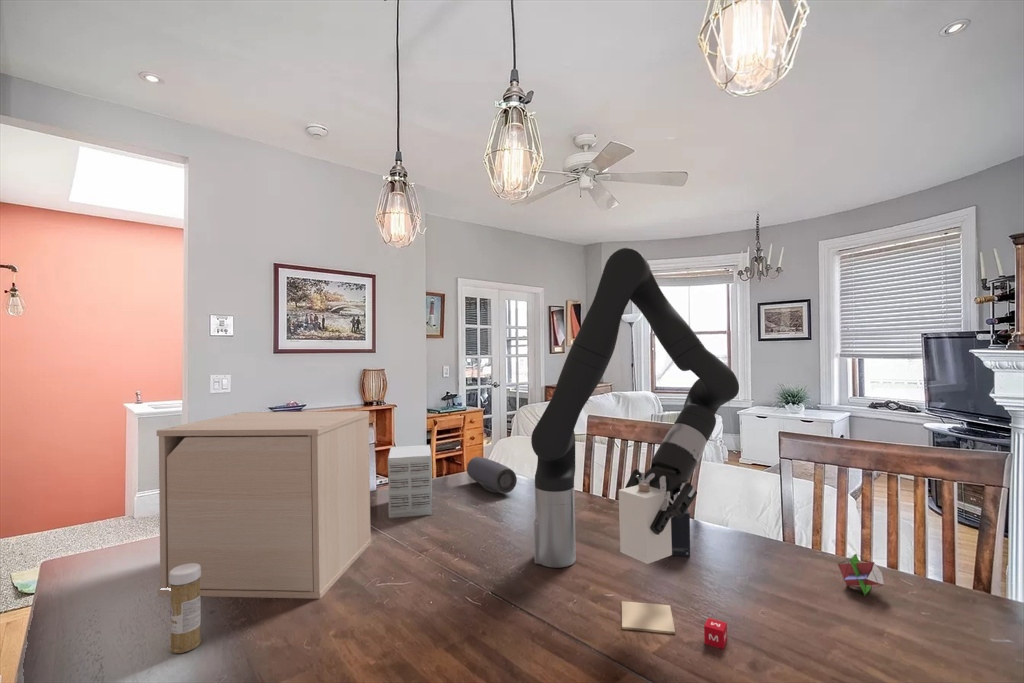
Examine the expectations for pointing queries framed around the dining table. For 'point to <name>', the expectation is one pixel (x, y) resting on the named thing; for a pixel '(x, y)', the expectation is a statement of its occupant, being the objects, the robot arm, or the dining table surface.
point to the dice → (715, 633)
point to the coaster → (647, 617)
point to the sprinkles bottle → (185, 607)
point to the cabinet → (265, 501)
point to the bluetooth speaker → (492, 475)
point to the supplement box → (410, 481)
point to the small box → (681, 535)
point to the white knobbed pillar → (642, 524)
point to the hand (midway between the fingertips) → (638, 526)
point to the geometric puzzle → (861, 574)
